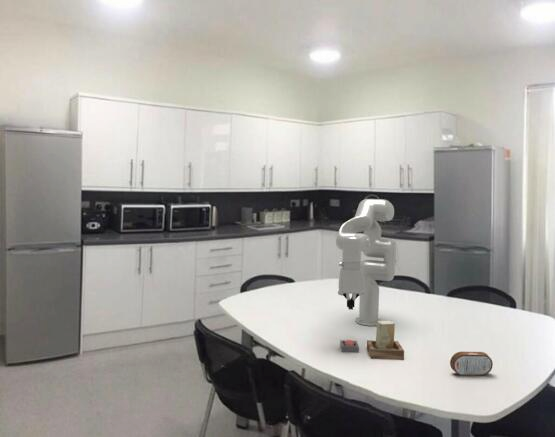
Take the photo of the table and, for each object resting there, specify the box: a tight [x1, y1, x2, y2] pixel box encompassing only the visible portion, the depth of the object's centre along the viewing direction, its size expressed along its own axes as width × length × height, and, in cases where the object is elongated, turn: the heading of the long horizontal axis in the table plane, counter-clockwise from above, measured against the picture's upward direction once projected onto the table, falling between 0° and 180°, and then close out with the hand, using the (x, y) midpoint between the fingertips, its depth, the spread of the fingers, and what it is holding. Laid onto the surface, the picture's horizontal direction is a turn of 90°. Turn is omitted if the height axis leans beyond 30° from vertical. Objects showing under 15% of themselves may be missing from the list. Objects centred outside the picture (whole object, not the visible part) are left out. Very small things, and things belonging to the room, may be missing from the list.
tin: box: [449, 351, 494, 377], centre depth 164 cm, size 15×3×8 cm, turn 92°
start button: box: [345, 339, 355, 346], centre depth 188 cm, size 4×4×3 cm
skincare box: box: [375, 320, 396, 349], centre depth 183 cm, size 6×4×12 cm
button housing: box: [339, 339, 360, 354], centre depth 188 cm, size 7×7×2 cm
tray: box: [366, 339, 405, 360], centre depth 184 cm, size 11×13×4 cm
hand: (350, 308), depth 187 cm, fingers closed
